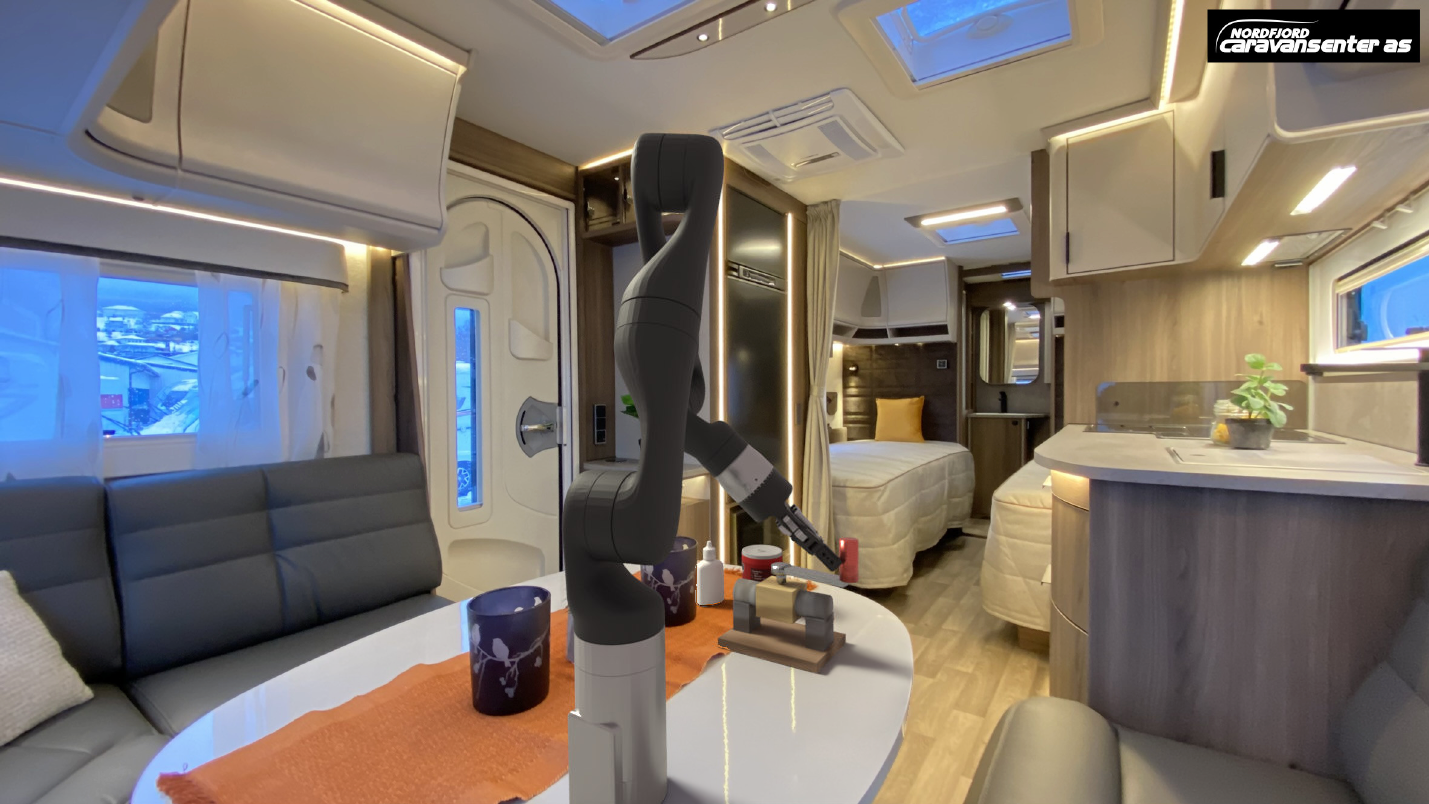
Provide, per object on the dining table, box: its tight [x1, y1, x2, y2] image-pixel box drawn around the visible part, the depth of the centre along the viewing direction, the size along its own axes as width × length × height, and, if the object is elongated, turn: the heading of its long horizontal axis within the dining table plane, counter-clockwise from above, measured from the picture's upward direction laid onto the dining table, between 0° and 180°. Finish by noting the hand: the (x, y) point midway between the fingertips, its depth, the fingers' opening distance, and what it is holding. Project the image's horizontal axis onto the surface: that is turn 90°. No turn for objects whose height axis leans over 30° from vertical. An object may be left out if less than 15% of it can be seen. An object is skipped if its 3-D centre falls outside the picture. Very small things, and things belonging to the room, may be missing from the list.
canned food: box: [741, 544, 784, 582], centre depth 112 cm, size 8×8×11 cm
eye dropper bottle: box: [696, 540, 725, 606], centre depth 115 cm, size 4×6×12 cm
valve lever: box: [771, 536, 860, 589], centre depth 91 cm, size 15×3×9 cm, turn 50°
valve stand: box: [717, 576, 847, 674], centre depth 95 cm, size 12×17×10 cm
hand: (836, 565), depth 86 cm, fingers closed
